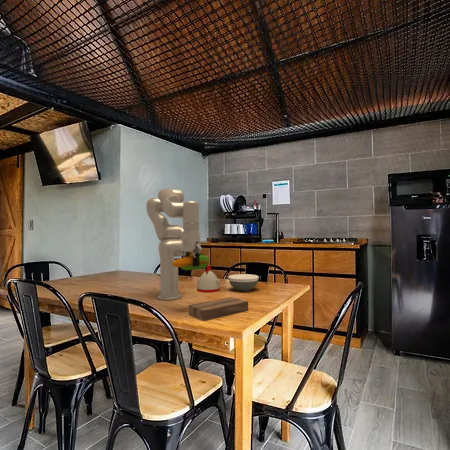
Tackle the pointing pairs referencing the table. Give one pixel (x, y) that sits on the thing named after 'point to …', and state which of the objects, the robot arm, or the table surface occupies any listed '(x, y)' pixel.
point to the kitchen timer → (208, 282)
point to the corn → (191, 262)
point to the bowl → (243, 281)
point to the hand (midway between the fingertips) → (191, 265)
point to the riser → (218, 308)
